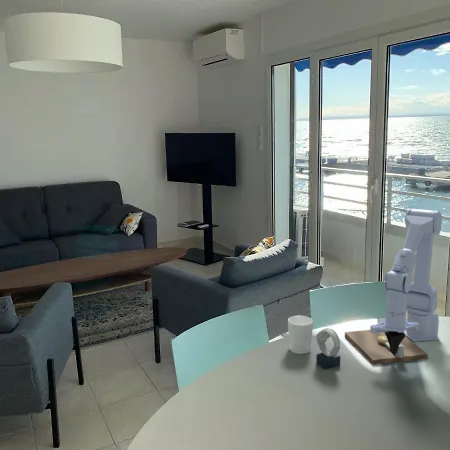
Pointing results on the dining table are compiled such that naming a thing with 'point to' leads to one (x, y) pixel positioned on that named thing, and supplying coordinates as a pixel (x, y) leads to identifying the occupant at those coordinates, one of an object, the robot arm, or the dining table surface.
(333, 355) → the watch
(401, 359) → the brown wooden board
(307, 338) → the white cup
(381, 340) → the lever
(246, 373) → the dining table surface
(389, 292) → the robot arm
